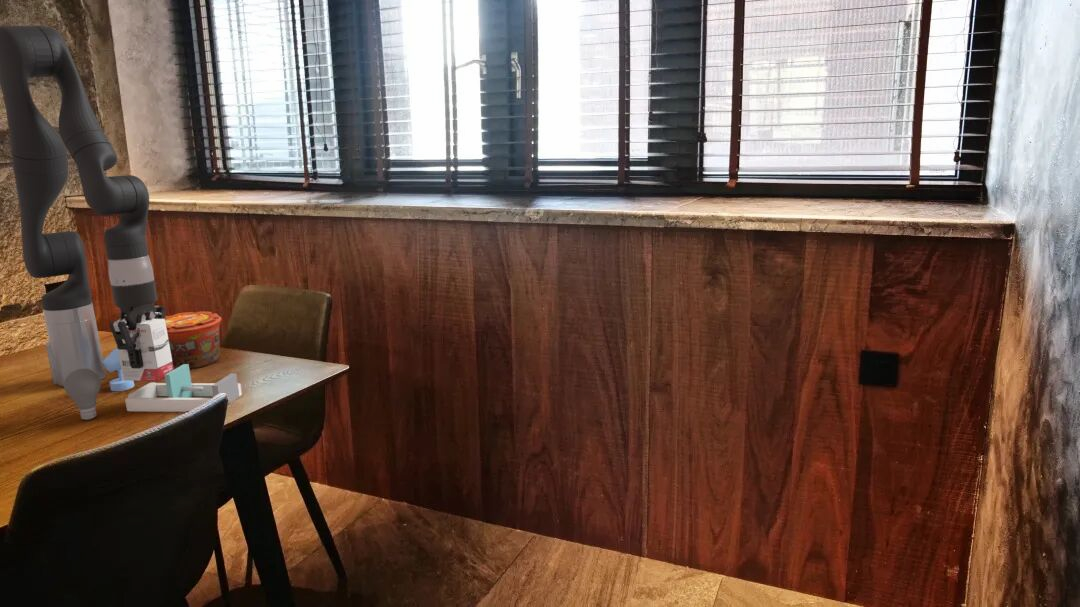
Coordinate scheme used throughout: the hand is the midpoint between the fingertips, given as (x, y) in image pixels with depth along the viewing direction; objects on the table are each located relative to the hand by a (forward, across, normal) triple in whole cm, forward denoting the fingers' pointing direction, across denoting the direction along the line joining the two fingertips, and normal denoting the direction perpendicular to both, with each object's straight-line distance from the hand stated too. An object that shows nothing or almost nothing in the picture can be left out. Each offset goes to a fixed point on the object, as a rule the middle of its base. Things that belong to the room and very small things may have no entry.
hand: (146, 362), depth 146 cm
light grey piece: (+9, 0, -7) cm, 11 cm away
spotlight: (+9, +9, +13) cm, 18 cm away
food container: (+9, +26, +8) cm, 29 cm away
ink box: (+3, 0, 0) cm, 3 cm away
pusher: (+8, 0, -8) cm, 12 cm away
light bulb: (+9, -8, +8) cm, 14 cm away
